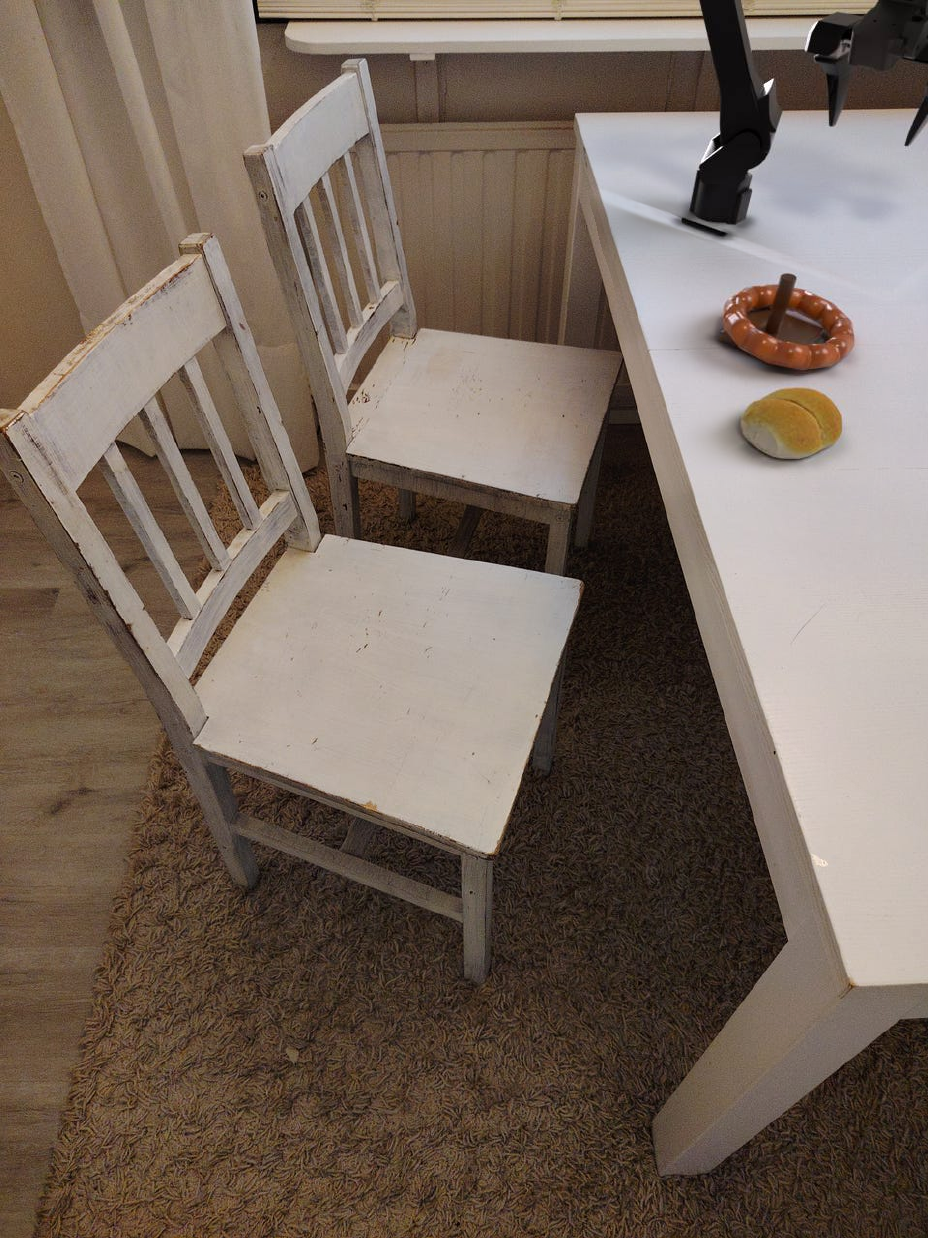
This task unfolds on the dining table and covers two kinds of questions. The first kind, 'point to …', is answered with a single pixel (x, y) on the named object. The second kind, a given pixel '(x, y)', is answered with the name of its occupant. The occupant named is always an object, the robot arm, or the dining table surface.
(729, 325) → the segmented orange ring
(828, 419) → the bread roll
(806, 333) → the stand
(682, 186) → the dining table surface
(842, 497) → the dining table surface
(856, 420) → the dining table surface
